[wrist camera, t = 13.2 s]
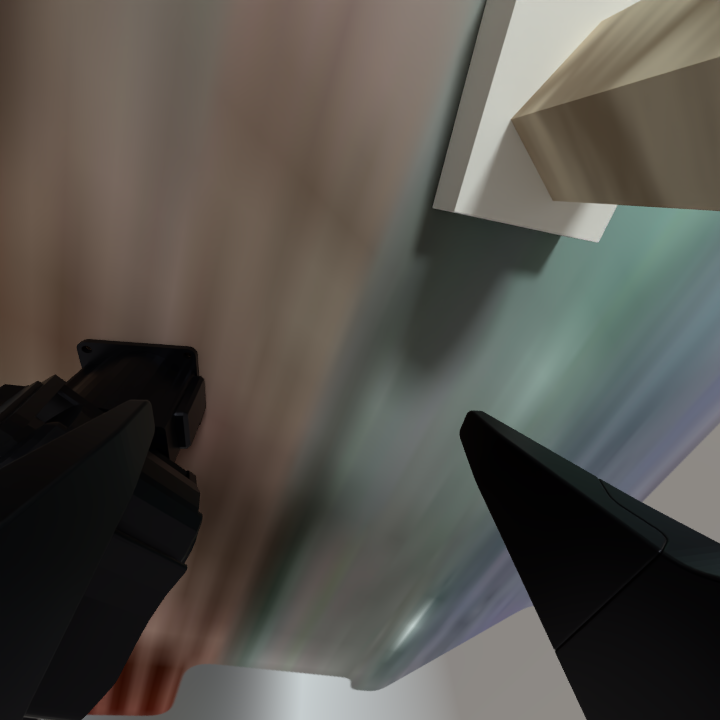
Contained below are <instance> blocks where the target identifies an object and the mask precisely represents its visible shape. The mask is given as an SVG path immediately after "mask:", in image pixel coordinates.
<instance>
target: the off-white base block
mask: <svg viewBox="0 0 720 720" xmlns="http://www.w3.org/2000/svg"><path fill="white" fill-rule="evenodd" d="M639 1H641V0H487V2H486V6H485V9H484V13H483V17H482V21H481V25H480V28H479V32H478V36H477V40H476V44H475V47H474V51H473V55H472V59H471V63H470V66H469V70H468V74H467V78H466V82H465V85H464V89H463V93H462V97H461V101H460V104H459V108H458V112H457V116H456V120H455V123H454V127H453V131H452V135H451V139H450V142H449V146H448V150H447V154H446V158H445V161H444V165H443V169H442V173H441V177H440V180H439V184H438V188H437V192H436V196H435V200H434V203H433V207H432V208H434V209H439V210H444V211H448V212H453V213H458V214H462V215H467V216H472V217H476V218H481V219H486V220H491V221H495V222H500V223H505V224H509V225H514V226H519V227H523V228H528V229H533V230H537V231H542V232H547V233H551V234H556V235H561V236H566V237H571V238H577V239H582V240H587V241H593V242H599V240H600V238H601V236H602V234H603V232H604V230H605V228H606V227H607V225H608V223H609V221H610V219H611V217H612V215H613V213H614V211H615V209H616V207H617V205H613V204H597V203H580V202H564V201H553V200H552V198H551V196H550V194H549V192H548V191H547V189H546V187H545V185H544V183H543V181H542V179H541V177H540V175H539V173H538V171H537V169H536V167H535V166H534V164H533V162H532V160H531V158H530V156H529V154H528V152H527V150H526V148H525V146H524V144H523V142H522V141H521V139H520V137H519V135H518V133H517V131H516V129H515V127H514V125H513V123H512V121H511V118H512V117H513V116H514V115H515V114H516V113H517V112H518V111H519V110H520V109H521V108H522V107H523V105H524V104H525V103H526V102H527V101H528V100H529V99H530V98H531V97H532V96H533V95H534V94H535V93H536V91H537V90H538V89H539V88H540V87H541V86H542V85H543V84H544V83H545V82H546V81H547V80H548V79H549V77H550V76H551V75H552V74H553V73H554V72H555V71H556V70H557V69H558V68H559V67H560V66H561V64H562V63H563V62H564V61H565V60H566V59H567V58H568V57H569V56H570V55H571V54H572V53H573V52H574V50H575V49H576V48H577V47H578V46H579V45H580V44H581V43H582V42H583V41H584V40H585V39H586V37H587V36H588V35H589V34H590V33H591V32H592V31H593V30H594V29H595V28H596V27H597V26H598V25H599V23H600V22H601V21H603V20H605V19H607V18H609V17H611V16H612V15H614V14H616V13H618V12H620V11H622V10H624V9H626V8H628V7H629V6H631V5H633V4H635V3H637V2H639Z"/></svg>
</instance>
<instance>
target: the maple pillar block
mask: <svg viewBox="0 0 720 720" xmlns="http://www.w3.org/2000/svg"><path fill="white" fill-rule="evenodd" d="M511 121H512V123H513V125H514V127H515V129H516V131H517V133H518V135H519V137H520V139H521V141H522V142H523V144H524V146H525V148H526V150H527V152H528V154H529V156H530V158H531V160H532V162H533V164H534V166H535V167H536V169H537V171H538V173H539V175H540V177H541V179H542V181H543V183H544V185H545V187H546V189H547V191H548V192H549V194H550V196H551V198H552V200H553V201H564V202H580V203H597V204H613V205H630V206H646V207H663V208H679V209H696V210H713V211H720V0H641V1H639V2H637V3H635V4H633V5H631V6H629V7H628V8H626V9H624V10H622V11H620V12H618V13H616V14H614V15H612V16H611V17H609V18H607V19H605V20H603V21H601V22H600V23H599V25H598V26H597V27H596V28H595V29H594V30H593V31H592V32H591V33H590V34H589V35H588V36H587V37H586V39H585V40H584V41H583V42H582V43H581V44H580V45H579V46H578V47H577V48H576V49H575V50H574V52H573V53H572V54H571V55H570V56H569V57H568V58H567V59H566V60H565V61H564V62H563V63H562V64H561V66H560V67H559V68H558V69H557V70H556V71H555V72H554V73H553V74H552V75H551V76H550V77H549V79H548V80H547V81H546V82H545V83H544V84H543V85H542V86H541V87H540V88H539V89H538V90H537V91H536V93H535V94H534V95H533V96H532V97H531V98H530V99H529V100H528V101H527V102H526V103H525V104H524V105H523V107H522V108H521V109H520V110H519V111H518V112H517V113H516V114H515V115H514V116H513V117H512V118H511Z"/></svg>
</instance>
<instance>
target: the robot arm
mask: <svg viewBox="0 0 720 720" xmlns="http://www.w3.org/2000/svg"><path fill="white" fill-rule="evenodd" d="M86 346H89V347H90V348H91V349H92V350H89V349H87V348H86ZM77 351H78V355H79V359H80V363H81V366H82V369H81V370H80V371H79V372H78V373H76V374H75V375H74V376H73V377H72V378H71V379H70V380H68V381H67V382H65V381H64V380H62V379H61V378H60V377H58V376H57V375H56V374H55V375H53V376H51V377H50V378H48V379H47V380H45V381H43V382H42V383H41V382H39V381H36V382H35V383H33V384H31V385H27V386H17V385H8V384H5V385H3V386H1V387H0V720H41V719H44V720H82V719H83V718H84V717H85V716H86V715H87V714H88V713H89V712H90V711H91V710H92V709H93V707H94V706H95V705H96V704H97V703H98V702H99V701H100V700H101V699H102V698H103V696H104V695H105V694H106V693H107V692H108V691H109V690H110V689H111V688H112V686H113V685H114V684H115V682H116V681H117V679H118V677H119V676H120V674H121V672H122V670H123V668H124V666H125V664H126V662H127V660H128V658H129V656H130V655H131V653H132V651H133V649H134V647H135V645H136V643H137V641H138V639H139V637H140V636H141V634H142V632H143V630H144V629H145V627H146V625H147V623H148V621H149V620H150V618H151V617H152V615H153V614H154V612H155V611H156V609H157V608H158V606H159V605H160V603H161V602H162V600H163V599H164V598H165V596H166V595H167V593H168V592H169V591H170V590H171V589H172V588H173V586H174V585H175V584H176V583H177V582H178V580H179V579H180V578H181V577H182V576H183V575H184V573H185V572H186V570H187V565H186V564H184V563H185V561H186V559H187V558H188V556H189V554H190V552H191V551H192V548H193V546H194V544H195V541H196V538H197V534H198V531H199V528H200V525H201V523H202V513H200V512H199V511H198V509H199V499H200V492H199V490H198V487H197V485H196V475H194V474H193V473H192V472H190V471H185V470H184V469H183V468H181V467H180V466H178V465H177V464H176V463H174V462H175V460H176V457H177V455H178V453H179V450H180V449H187V448H188V447H189V446H191V444H192V442H193V439H194V436H195V434H196V431H197V429H198V426H199V425H200V423H201V420H202V416H203V413H204V411H205V408H206V401H205V384H204V379H203V378H202V377H201V376H199V369H198V354H197V351H196V350H195V349H194V348H192V347H189V346H175V345H162V344H148V343H134V342H120V341H106V340H92V339H86V340H83V341H81V342H80V343H79V344H78V345H77ZM185 353H190V354H191V356H190V357H189V356H187V355H185ZM460 439H461V442H462V445H463V447H464V450H465V453H466V456H467V459H468V462H469V464H470V467H471V470H472V473H473V475H474V478H475V481H476V483H477V485H478V488H479V490H480V492H481V494H482V496H483V498H484V500H485V503H486V505H487V507H488V509H489V511H490V513H491V515H492V518H493V520H494V522H495V524H496V526H497V528H498V530H499V532H500V535H501V537H502V539H503V541H504V543H505V545H506V547H507V550H508V552H509V554H510V556H511V558H512V560H513V562H514V565H515V567H516V569H517V571H518V573H519V575H520V577H521V580H522V582H523V584H524V586H525V588H526V590H527V592H528V595H529V597H530V599H531V601H532V603H533V605H534V607H535V610H536V612H537V614H538V616H539V618H540V620H541V622H542V625H543V627H544V629H545V631H546V633H547V635H548V637H549V640H550V642H551V644H552V646H553V648H554V649H555V653H556V655H557V657H558V659H559V661H560V663H561V666H562V668H563V670H564V672H565V674H566V677H567V679H568V681H569V683H570V685H571V687H572V689H573V691H574V694H575V696H576V698H577V700H578V702H579V704H580V707H581V708H582V711H583V713H584V715H585V717H586V719H587V720H720V543H718V542H716V541H714V540H712V539H710V538H708V537H706V536H705V535H703V534H701V533H699V532H697V531H695V530H693V529H691V528H689V527H687V526H685V525H683V524H682V523H680V522H678V521H676V520H674V519H672V518H670V517H668V516H666V515H664V514H663V513H661V512H659V511H657V510H655V509H653V508H651V507H650V506H647V505H646V504H644V503H642V502H640V501H638V500H637V499H635V498H633V497H631V496H629V495H628V494H626V493H624V492H622V491H621V490H619V489H617V488H615V487H613V486H612V485H610V484H608V483H606V482H605V481H603V480H601V479H598V478H597V477H596V476H594V475H592V474H591V473H589V472H587V471H585V470H584V469H582V468H580V467H579V466H577V465H575V464H573V463H572V462H570V461H568V460H566V459H565V458H563V457H561V456H559V455H558V454H556V453H554V452H552V451H551V450H549V449H547V448H546V447H544V446H542V445H540V444H539V443H537V442H535V441H533V440H532V439H530V438H528V437H526V436H525V435H523V434H521V433H519V432H518V431H516V430H514V429H512V428H511V427H509V426H507V425H506V424H504V423H502V422H500V421H499V420H497V419H495V418H493V417H492V416H490V415H488V414H486V413H485V412H483V411H469V412H468V413H467V415H466V417H465V419H464V422H463V424H462V426H461V429H460Z"/></svg>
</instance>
